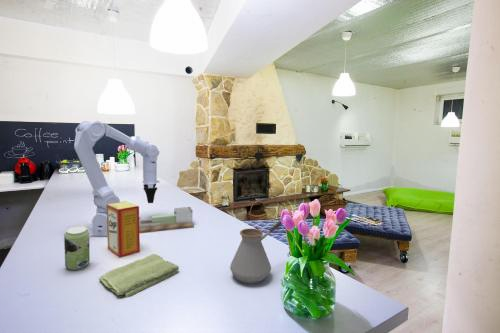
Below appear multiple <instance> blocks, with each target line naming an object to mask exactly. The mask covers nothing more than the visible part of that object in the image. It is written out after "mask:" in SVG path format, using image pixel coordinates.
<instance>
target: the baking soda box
mask: <svg viewBox="0 0 500 333" xmlns="http://www.w3.org/2000/svg"><path fill="white" fill-rule="evenodd" d="M139 217H140V205H137V204H134V203H132V202H130V201H127V200H126V201H120V202H118V203H112V204H107V234H108V236H107V250H108V251H110V252H111V253H112V254H113V255H115V256H117V258H119V259H122V258H123V257H127V256H130V255H131V256H132V255H135V254H137V253H140V251H141V246H140V237H141V236H140V233H139Z"/></svg>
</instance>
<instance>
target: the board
mask: <svg viewBox="0 0 500 333" xmlns="http://www.w3.org/2000/svg"><path fill="white" fill-rule="evenodd" d="M191 228H195V225H194V223H193V222H192V223H189V224H179V225H176V224H167V225H160V226H159V227H149V228H139V234H144V233H145V234H146V233H153V232H154V233H155V232H164V231H173V230H182V229H191Z"/></svg>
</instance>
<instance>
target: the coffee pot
mask: <svg viewBox="0 0 500 333" xmlns="http://www.w3.org/2000/svg"><path fill="white" fill-rule="evenodd" d="M282 224H283V223H281V220H280V221H278V222H277V223H275V224H274V225H273V226H272V227H271V228H270V229H269V230H268V231H267V232H265V233H264V232H263V230H261V229H258V228H244V229H241V230H240V231H239V235H240V236H241V238H242V239H241V241H240V243H239V246H238V248H237V249H236V252H235V254H234V257H233V258H232V261H231V263H230V268H229V270H230V271H231V273H232V276H234V277H235V278H236V279H237V280H238V281H239V282H241V283H243V284H251V285H253V284H259V283H261V282H262V281H264V280H265V279H266V278H268V276H269V275H270V273H271V270H272V265H271V263H270V259H269V258H268V255H267V252H266V250H265V248H264V245H263V243H262V241H263V240H264V239H266V237H268V236H269V235H270V234H272V232H275V230H277V229H278V228H279V227H280V226H282Z"/></svg>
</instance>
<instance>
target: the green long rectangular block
mask: <svg viewBox="0 0 500 333" xmlns="http://www.w3.org/2000/svg"><path fill="white" fill-rule="evenodd" d="M150 217H151V218H150V220H151V221H152V223H159V222H160V225H167V224H176V214H174V213H173V214H172V213H171V214H159V215H151V216H150Z"/></svg>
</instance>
